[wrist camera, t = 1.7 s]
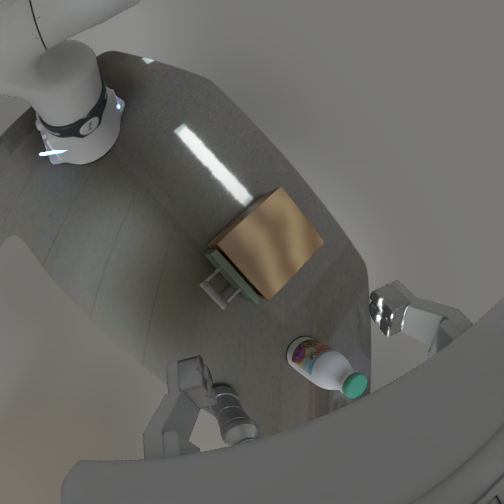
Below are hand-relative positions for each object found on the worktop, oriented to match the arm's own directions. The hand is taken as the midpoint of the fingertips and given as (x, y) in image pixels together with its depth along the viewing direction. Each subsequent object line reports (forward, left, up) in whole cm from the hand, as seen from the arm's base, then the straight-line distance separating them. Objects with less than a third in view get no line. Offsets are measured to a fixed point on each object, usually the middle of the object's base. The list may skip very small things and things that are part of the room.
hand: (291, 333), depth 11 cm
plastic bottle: (+23, -14, -40) cm, 49 cm away
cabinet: (+5, +13, -40) cm, 43 cm away
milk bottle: (+30, +5, -40) cm, 51 cm away
